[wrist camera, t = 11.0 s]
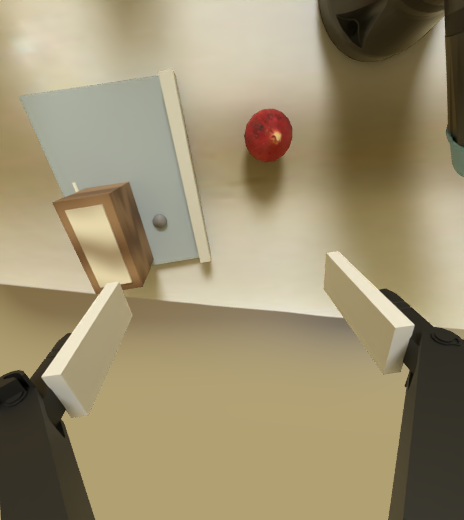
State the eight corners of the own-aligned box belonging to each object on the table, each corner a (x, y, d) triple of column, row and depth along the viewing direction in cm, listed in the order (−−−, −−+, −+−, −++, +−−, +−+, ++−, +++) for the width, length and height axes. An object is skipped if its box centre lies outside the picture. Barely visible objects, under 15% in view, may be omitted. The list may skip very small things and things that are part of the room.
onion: (232, 141, 34) (239, 142, 26) (258, 101, 32) (274, 91, 25) (264, 167, 35) (279, 175, 28) (291, 131, 34) (314, 130, 27)
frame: (85, 188, 33) (51, 203, 26) (129, 181, 33) (107, 194, 26) (116, 265, 39) (95, 295, 31) (153, 259, 39) (142, 287, 32)
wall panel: (25, 97, 29) (6, 93, 26) (175, 75, 30) (172, 69, 27) (101, 270, 40) (94, 280, 37) (210, 252, 41) (210, 261, 38)
